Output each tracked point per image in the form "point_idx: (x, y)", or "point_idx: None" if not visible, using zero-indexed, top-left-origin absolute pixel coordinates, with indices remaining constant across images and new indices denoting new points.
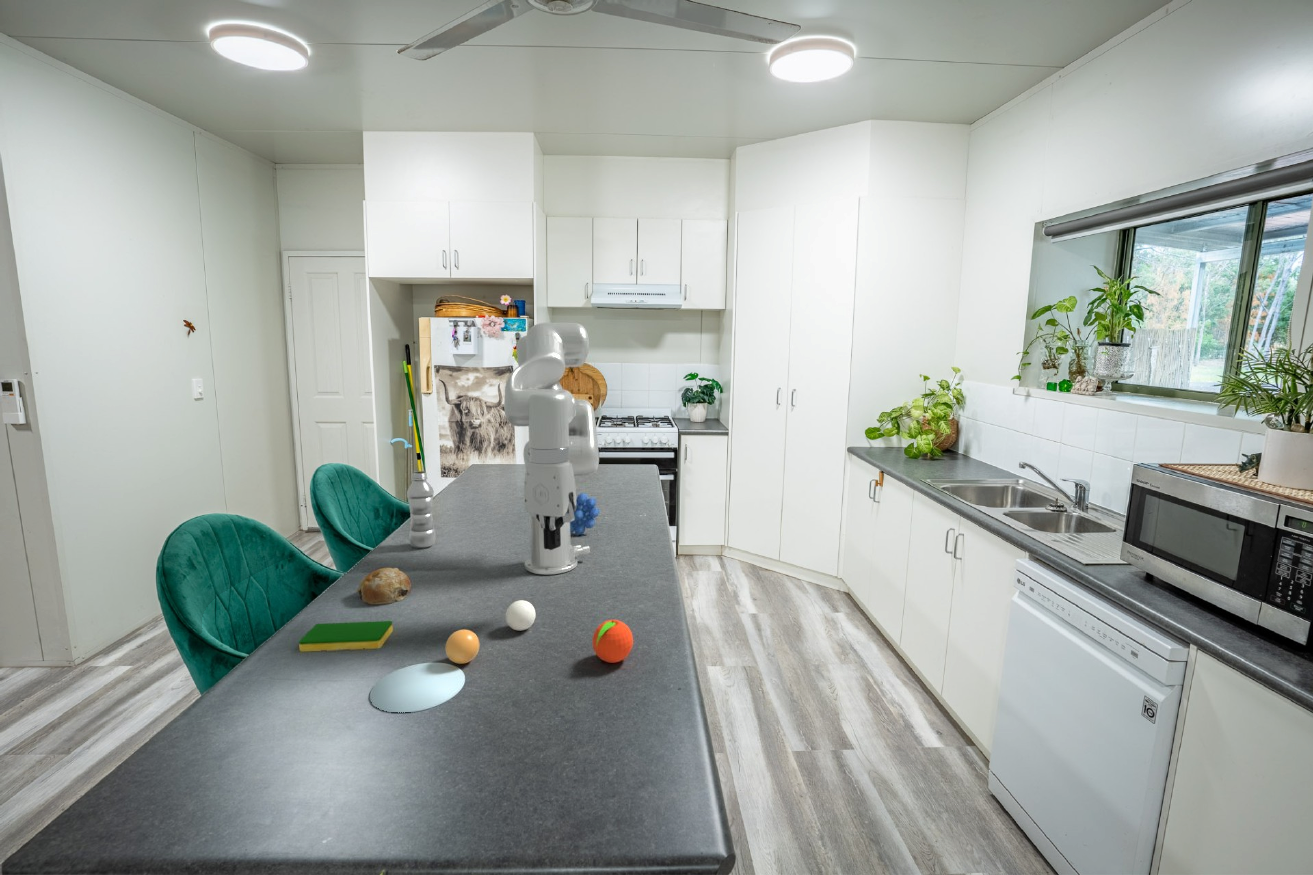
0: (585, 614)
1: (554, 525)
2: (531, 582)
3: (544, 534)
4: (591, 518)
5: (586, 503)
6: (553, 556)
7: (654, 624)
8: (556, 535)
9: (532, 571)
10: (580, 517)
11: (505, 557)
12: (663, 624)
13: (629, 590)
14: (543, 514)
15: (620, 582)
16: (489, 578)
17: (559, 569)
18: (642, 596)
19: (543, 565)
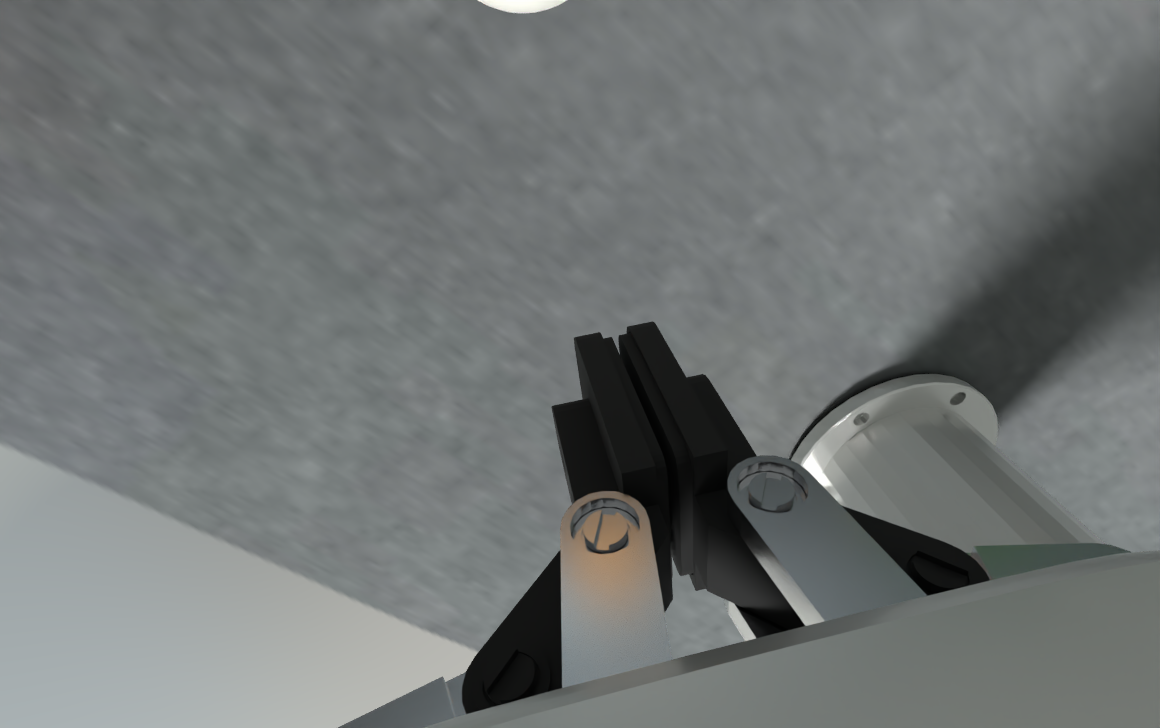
0: (405, 272)
1: (561, 567)
2: (857, 319)
3: (688, 411)
4: None
5: None
6: (872, 479)
7: (98, 404)
8: (570, 483)
9: (912, 378)
10: None
11: (1102, 393)
12: (74, 427)
13: (465, 515)
14: (749, 653)
15: (549, 531)
16: (1062, 223)
17: (812, 449)
18: (382, 516)
19: (888, 425)
